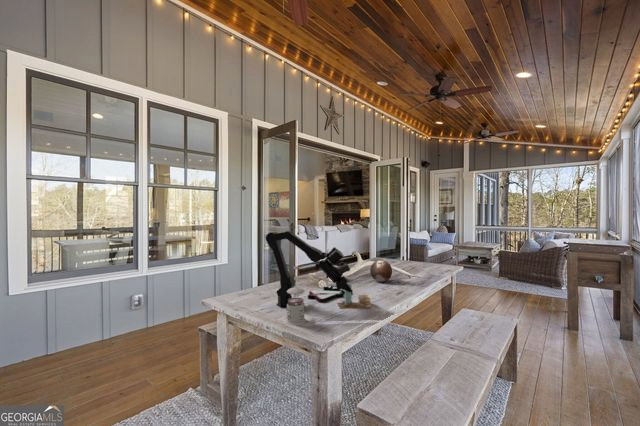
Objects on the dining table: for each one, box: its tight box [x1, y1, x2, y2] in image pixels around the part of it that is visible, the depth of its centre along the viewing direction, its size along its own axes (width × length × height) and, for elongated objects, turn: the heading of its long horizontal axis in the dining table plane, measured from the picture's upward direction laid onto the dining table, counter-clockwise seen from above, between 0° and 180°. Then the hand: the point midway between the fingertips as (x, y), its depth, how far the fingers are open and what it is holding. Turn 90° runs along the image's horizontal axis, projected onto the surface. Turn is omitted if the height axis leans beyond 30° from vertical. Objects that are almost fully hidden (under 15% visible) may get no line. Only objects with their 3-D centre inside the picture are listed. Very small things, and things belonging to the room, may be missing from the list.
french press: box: [284, 266, 307, 326], centre depth 139 cm, size 10×12×25 cm
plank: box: [344, 283, 352, 304], centre depth 157 cm, size 3×2×11 cm
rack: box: [336, 294, 372, 310], centre depth 158 cm, size 16×10×6 cm, turn 95°
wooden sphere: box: [369, 259, 393, 283], centre depth 213 cm, size 15×15×15 cm
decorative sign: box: [307, 284, 354, 304], centre depth 177 cm, size 18×4×30 cm
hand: (350, 290), depth 157 cm, fingers closed on plank, 2 cm apart
